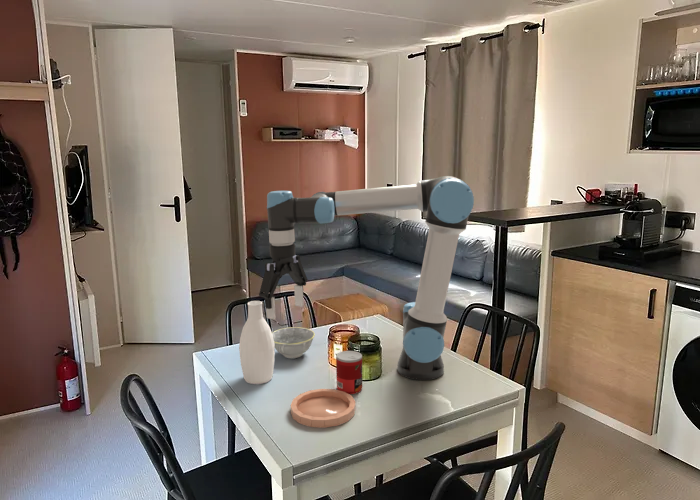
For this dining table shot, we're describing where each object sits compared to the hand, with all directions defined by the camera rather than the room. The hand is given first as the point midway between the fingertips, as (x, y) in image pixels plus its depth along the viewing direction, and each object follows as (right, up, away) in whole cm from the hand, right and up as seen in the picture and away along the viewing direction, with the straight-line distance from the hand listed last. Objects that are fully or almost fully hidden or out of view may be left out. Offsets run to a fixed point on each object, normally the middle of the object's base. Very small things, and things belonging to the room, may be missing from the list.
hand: (285, 312), depth 163 cm
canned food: (+19, -24, +2) cm, 31 cm away
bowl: (-1, -19, +28) cm, 34 cm away
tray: (+12, -27, -11) cm, 31 cm away
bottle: (-10, -23, +10) cm, 27 cm away
